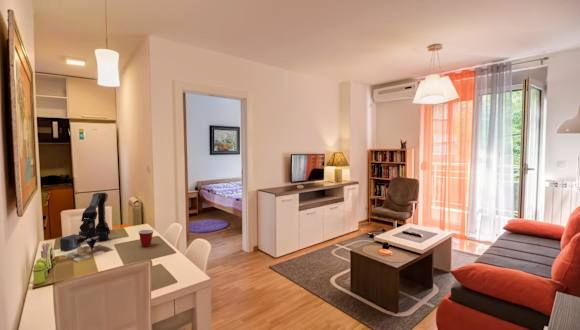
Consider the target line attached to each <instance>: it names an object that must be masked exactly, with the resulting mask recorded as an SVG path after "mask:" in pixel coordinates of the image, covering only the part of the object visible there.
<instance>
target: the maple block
mask: <svg viewBox="0 0 580 330" xmlns="http://www.w3.org/2000/svg"><path fill="white" fill-rule="evenodd" d="M91 250H92V249H91V247H89V245H85V246H82V247H78V248H76V251H77V254H78V255H80V256H83V255H86V254H89V255H91V254H90V253H91Z"/></svg>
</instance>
